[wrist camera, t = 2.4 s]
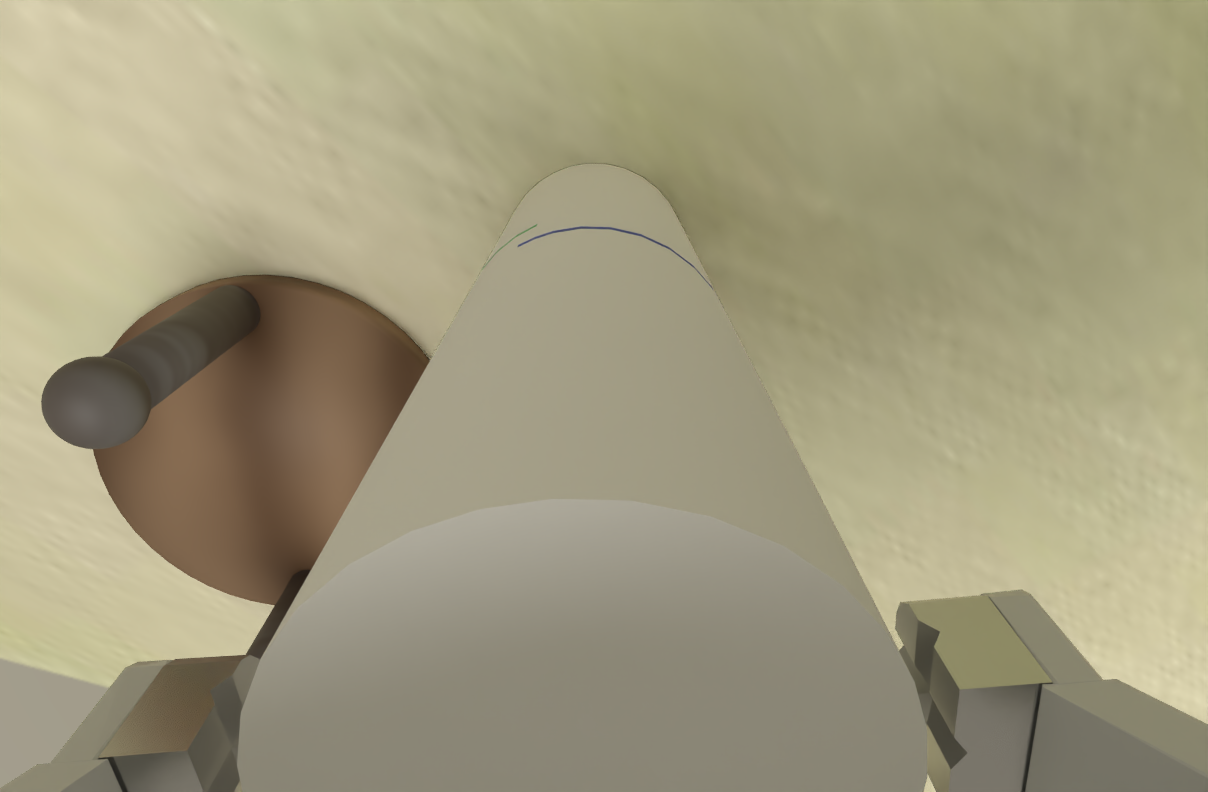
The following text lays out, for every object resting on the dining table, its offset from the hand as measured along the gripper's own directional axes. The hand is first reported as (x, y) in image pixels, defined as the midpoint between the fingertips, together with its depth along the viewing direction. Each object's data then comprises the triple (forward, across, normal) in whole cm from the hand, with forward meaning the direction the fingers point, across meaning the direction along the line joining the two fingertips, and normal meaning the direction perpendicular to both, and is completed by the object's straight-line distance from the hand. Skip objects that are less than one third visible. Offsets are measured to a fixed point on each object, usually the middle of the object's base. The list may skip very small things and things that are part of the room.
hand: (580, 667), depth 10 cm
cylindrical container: (+23, 0, 0) cm, 23 cm away
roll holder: (+23, +14, +7) cm, 28 cm away
